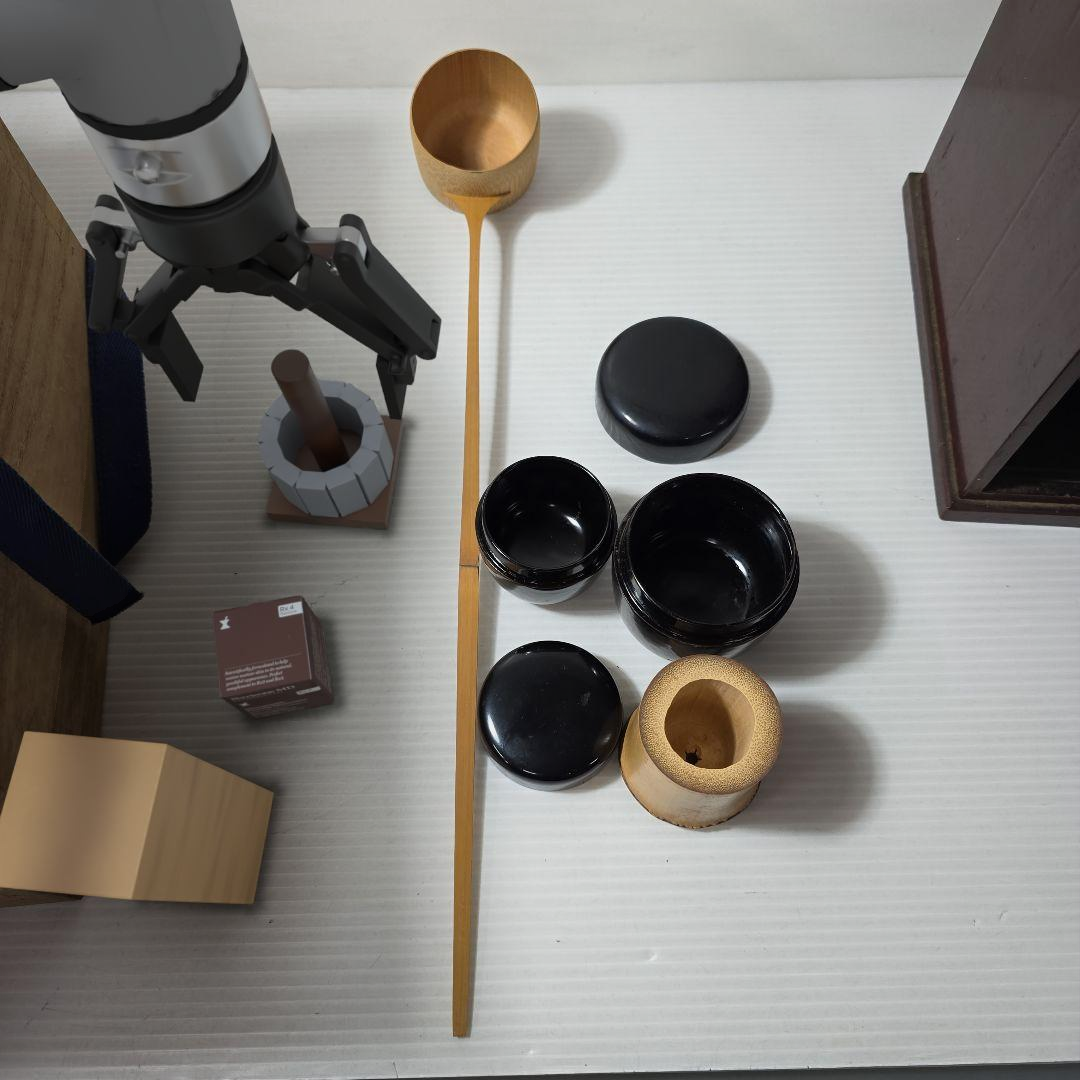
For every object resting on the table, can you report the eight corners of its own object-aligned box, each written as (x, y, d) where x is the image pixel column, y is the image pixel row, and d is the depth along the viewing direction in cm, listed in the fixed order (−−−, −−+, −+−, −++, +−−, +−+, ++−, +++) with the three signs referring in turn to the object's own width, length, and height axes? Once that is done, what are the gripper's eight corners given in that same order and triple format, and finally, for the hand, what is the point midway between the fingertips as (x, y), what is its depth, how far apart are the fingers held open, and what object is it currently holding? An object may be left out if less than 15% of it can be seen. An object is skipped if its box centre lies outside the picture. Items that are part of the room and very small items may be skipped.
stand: (146, 894, 63) (-21, 885, 44) (171, 782, 66) (24, 730, 47) (253, 904, 63) (131, 900, 44) (274, 792, 65) (167, 743, 47)
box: (250, 721, 67) (216, 699, 60) (242, 640, 69) (209, 610, 62) (336, 704, 68) (312, 680, 61) (325, 623, 70) (301, 592, 63)
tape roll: (266, 512, 71) (247, 483, 67) (288, 409, 75) (271, 375, 70) (383, 521, 71) (372, 494, 66) (400, 417, 74) (390, 384, 70)
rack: (271, 520, 73) (203, 423, 58) (292, 416, 76) (234, 300, 62) (387, 530, 72) (349, 434, 58) (404, 425, 76) (371, 310, 61)
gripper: (-109, 194, 42) (94, 426, 62) (455, 240, 41) (478, 459, 61) (-55, 67, 45) (123, 328, 64) (475, 109, 44) (490, 359, 64)
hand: (296, 393), depth 63 cm, fingers open, 13 cm apart
